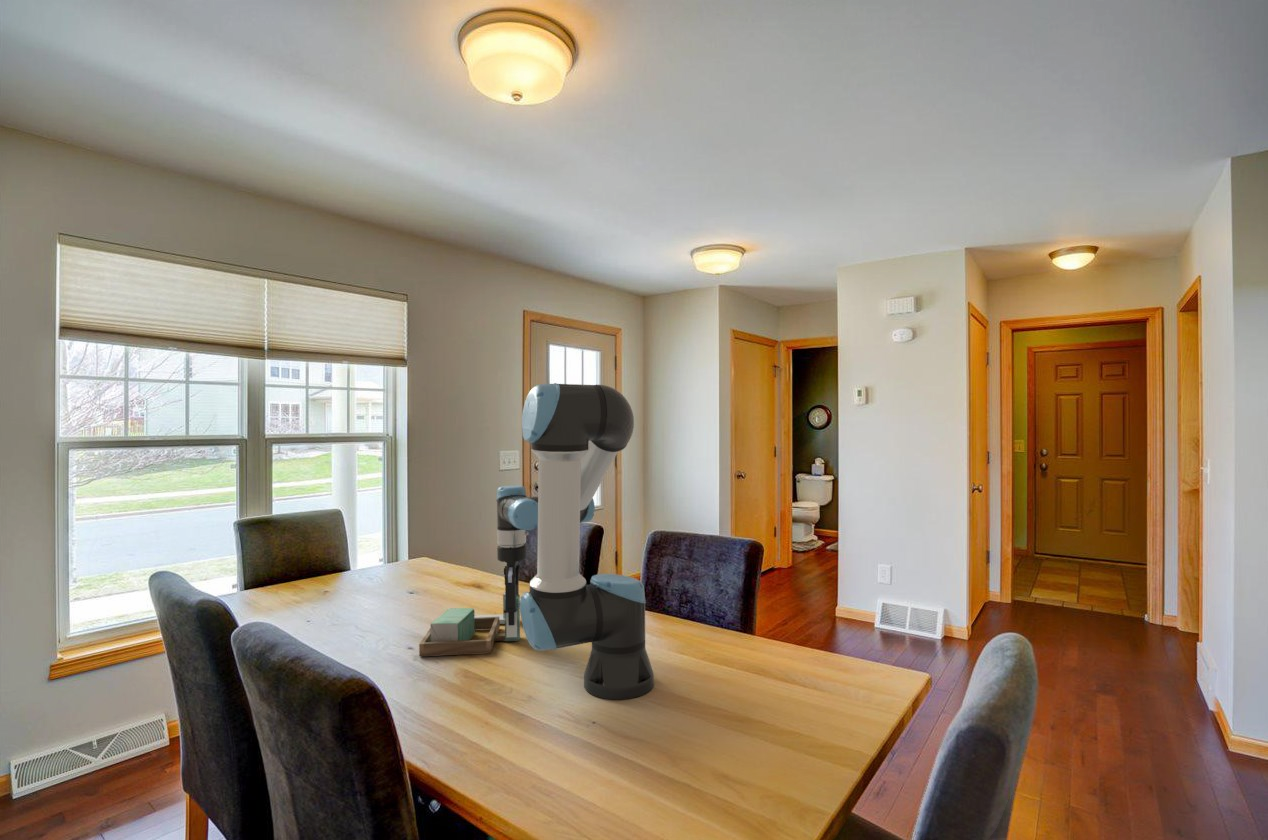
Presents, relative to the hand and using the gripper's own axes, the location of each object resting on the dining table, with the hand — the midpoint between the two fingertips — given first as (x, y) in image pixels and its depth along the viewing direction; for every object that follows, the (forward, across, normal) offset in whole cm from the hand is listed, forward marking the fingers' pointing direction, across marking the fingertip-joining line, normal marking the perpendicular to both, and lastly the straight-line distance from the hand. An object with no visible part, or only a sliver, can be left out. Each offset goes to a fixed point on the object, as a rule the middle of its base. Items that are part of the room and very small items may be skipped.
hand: (512, 633), depth 160 cm
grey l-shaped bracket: (+1, +15, +11) cm, 19 cm away
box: (+2, 0, +15) cm, 15 cm away
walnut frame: (+1, 0, +10) cm, 10 cm away
